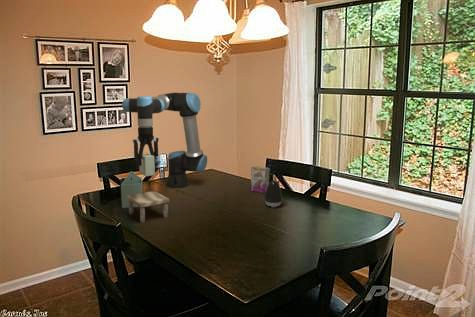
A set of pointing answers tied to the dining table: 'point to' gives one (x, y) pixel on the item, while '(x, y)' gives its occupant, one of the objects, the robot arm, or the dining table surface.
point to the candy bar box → (259, 178)
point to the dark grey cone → (273, 194)
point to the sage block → (148, 165)
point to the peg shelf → (147, 203)
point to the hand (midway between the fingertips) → (146, 170)
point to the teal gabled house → (130, 188)
